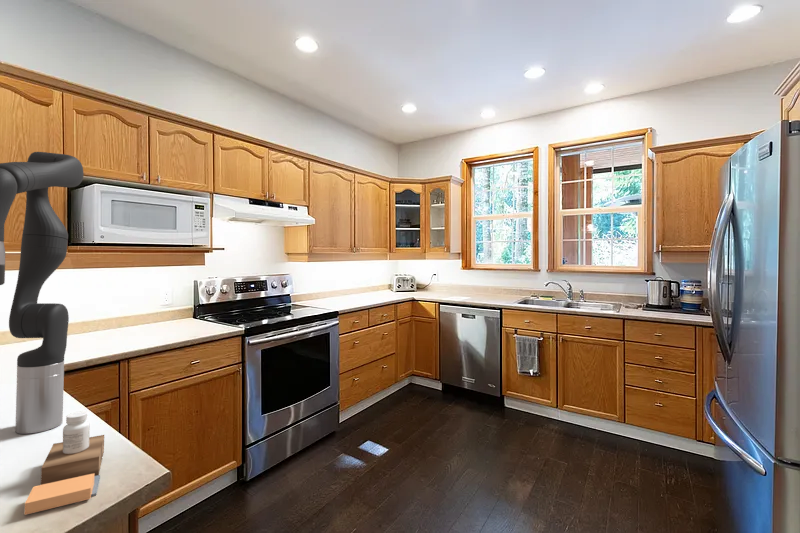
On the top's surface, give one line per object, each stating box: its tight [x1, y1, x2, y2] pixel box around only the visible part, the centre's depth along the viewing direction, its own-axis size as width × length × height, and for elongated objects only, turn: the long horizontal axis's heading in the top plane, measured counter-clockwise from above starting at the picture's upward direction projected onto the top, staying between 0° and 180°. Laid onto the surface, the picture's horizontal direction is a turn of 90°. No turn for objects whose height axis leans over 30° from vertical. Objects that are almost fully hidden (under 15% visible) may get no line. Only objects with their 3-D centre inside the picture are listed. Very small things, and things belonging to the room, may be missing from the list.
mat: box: [91, 474, 101, 497], centre depth 74 cm, size 8×8×1 cm
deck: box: [40, 434, 105, 485], centre depth 82 cm, size 12×9×4 cm
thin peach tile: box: [24, 473, 95, 516], centre depth 71 cm, size 6×9×2 cm, turn 123°
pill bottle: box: [62, 410, 90, 454], centre depth 82 cm, size 4×4×8 cm
